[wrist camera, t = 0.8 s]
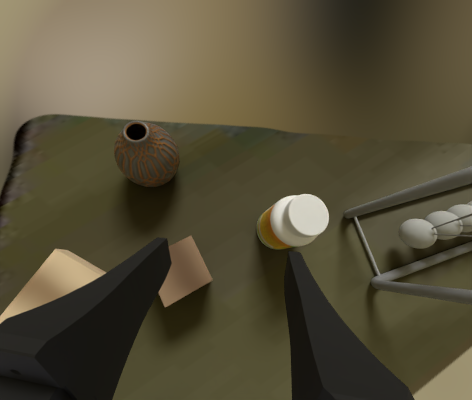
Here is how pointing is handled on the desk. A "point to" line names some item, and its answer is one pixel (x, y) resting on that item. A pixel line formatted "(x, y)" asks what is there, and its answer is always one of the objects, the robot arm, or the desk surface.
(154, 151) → the vase
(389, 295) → the desk surface
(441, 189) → the newton's cradle
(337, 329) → the robot arm
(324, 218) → the supplement bottle
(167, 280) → the walnut cube
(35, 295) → the oak block
